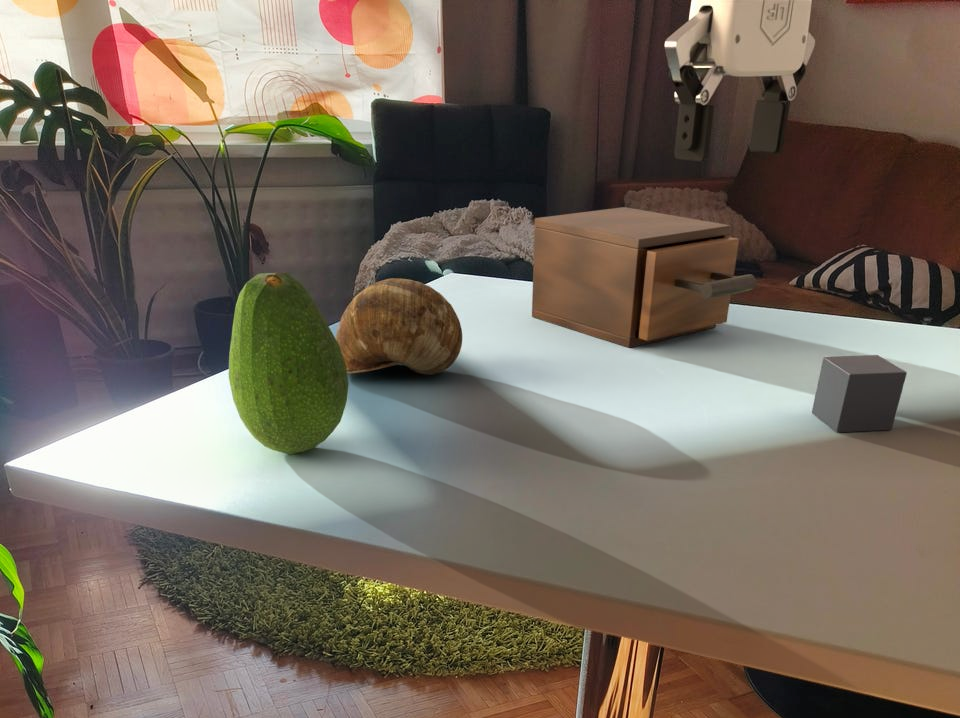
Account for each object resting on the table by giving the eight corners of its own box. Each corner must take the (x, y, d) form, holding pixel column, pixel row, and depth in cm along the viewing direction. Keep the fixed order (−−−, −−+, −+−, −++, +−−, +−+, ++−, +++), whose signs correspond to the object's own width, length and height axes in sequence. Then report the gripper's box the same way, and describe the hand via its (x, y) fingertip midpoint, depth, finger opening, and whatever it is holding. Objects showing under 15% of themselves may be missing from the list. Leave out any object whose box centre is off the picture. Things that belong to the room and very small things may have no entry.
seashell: (478, 366, 80) (479, 272, 76) (435, 398, 73) (432, 296, 69) (368, 352, 84) (361, 261, 79) (316, 381, 77) (306, 283, 72)
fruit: (375, 440, 65) (363, 265, 58) (315, 480, 59) (294, 290, 52) (283, 423, 68) (262, 255, 61) (217, 460, 62) (185, 278, 55)
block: (863, 410, 71) (877, 354, 68) (891, 430, 67) (907, 372, 65) (811, 412, 70) (823, 356, 68) (836, 432, 67) (850, 374, 64)
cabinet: (716, 327, 91) (731, 225, 86) (628, 347, 85) (639, 239, 80) (616, 300, 101) (624, 207, 96) (531, 316, 95) (534, 218, 90)
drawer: (764, 332, 86) (780, 246, 82) (684, 352, 81) (696, 260, 76) (631, 297, 98) (638, 220, 94) (553, 312, 93) (556, 231, 88)
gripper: (726, -117, 61) (693, 167, 70) (873, -97, 69) (826, 153, 79) (646, -104, 66) (626, 159, 75) (793, -87, 74) (758, 147, 84)
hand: (728, 156), depth 77 cm, fingers open, 9 cm apart
